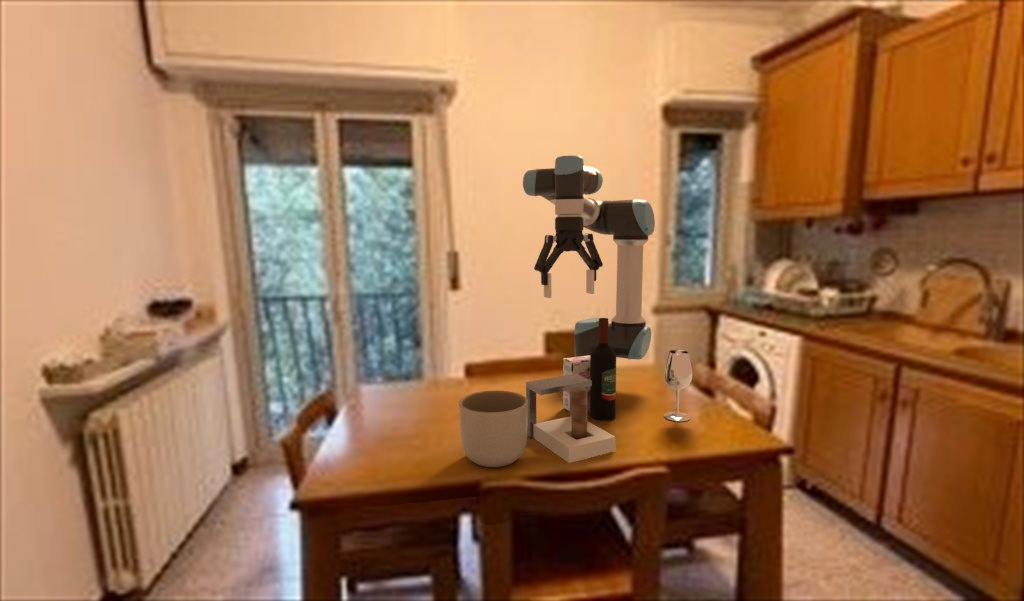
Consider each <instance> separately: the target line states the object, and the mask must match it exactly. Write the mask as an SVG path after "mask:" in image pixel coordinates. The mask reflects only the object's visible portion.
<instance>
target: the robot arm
mask: <svg viewBox="0 0 1024 601" xmlns="http://www.w3.org/2000/svg"><path fill="white" fill-rule="evenodd" d="M603 181H604V178H603V175H602V173H601V172H600V171H599V170H598V169H597V168H594V167H593V166H587V165H585V163H584V158H583V156H581V155H561V156H557V157H556V158H555V160H554V167H553V168H552V167H551V168H535V169H530V170H526V172H525V173H524V174H523V178H522V188H523V192H524V193H525V194H526V195H527V196H528V197H529V196H530V197H539V196H540V197H542V198H543V199H545V200H547V201H548V202H550V203H551V204H553V205H554V214H555V216H556V217H555V218H554V230H555V235H552V234H545V236H544V241H543V242H544V243H543V246H542V248H541V251H540V253H539V255H538V258H537V260H536V263H535V265H534V266H533V267H534V268H533V269H534V271H537V272H539V273H540V279H541V280H540V283H541V286H543V297H544V298H548V299H551V298H552V273H551V272H549V271H550V270H551V269H552V267H553V266H554V264H555V263H556V262H557V260H558V259H559V257H560V256H561V254H563V253H564V252H565V253H566V252H576V253H577V254H578V256H580V258H581V260H583V262H584V264H585V265H586V266H587V267H588V268H589V269H586V272H585V273H586V276H585V277H586V278H585V280H586V282H585V283H586V289H585V290H586V291H585V292H586V294H591V295H594V294H595V282H596V281H597V271H599V270H600V268H601V267H603V266H604V264H603V262H602V258H601V256H600V254H599V252H598V249H597V245H596V244H595V242H594V234H593V233H597V234H601V235H606V236H607V235H609V236H611V235H612V237H613V238H612V239H613V242H614V243H615V244H616V246H617V250H616V251H617V254H616V255H617V258H616V259H617V260H616V293H615V294H616V297H615V298H616V300H615V315H614V316H613V317H612V318H611V323H610V322H609V323H608V345H609V347H611V348H612V349H613V350H614V352H615V353H616V358H618V359H627V360H642V359H644V357H645V356H646V355H647V353H648V351H649V348H650V346H651V340H652V329H651V327H650V326H648V325H646V324H647V321H646V319H645V318H644V317H643V316H642V302H643V268H644V246H645V244H646V243H647V242H649V236H651V235H653V234H654V232H655V228H656V227H655V226H656V224H655V223H656V221H655V212H654V210H653V208H652V205H651V203H650V202H649V201H648V200H645V199H621V200H620V199H619V200H618V199H617V200H596V199H594V198H591V197H587V195H588V196H590V195H592V194H595V193H598V191H599V190H600V189H601V187H602V185H603ZM584 228H585V229H586V230H589V231H592V232H593V233H584V234H583V231H584ZM582 242H584V244H585V246H586V247H585V246H584V245H583V243H582ZM554 243H556V244H555V246H554V247H553V245H554ZM552 248H553V249H552ZM586 249H587V250H586ZM551 250H552V251H551ZM587 251H588V252H587ZM599 318H600V317H592V318H591V317H590V318H585V319H581V320H578V321H577V322H575V324H574V333H573V335H574V337H573V338H574V357H580V356H588V355H591V352H592V351H593V349H595V348H596V347H597V346H598V343H599Z"/></svg>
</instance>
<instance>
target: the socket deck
mask: <svg viewBox="0 0 1024 601" xmlns="http://www.w3.org/2000/svg"><path fill="white" fill-rule="evenodd" d="M532 439H534V440H536V441H537V442H539V443H540V444H541V445H543V447H545V448H547V449H549V450H550V451H551V452H552V453H554V454H556V455H557V457H560V458H561V459H562V460H563V461H565V462H567V464H571V463H574V462H579V461H584V460H588V459H590V458H591V457H592V458H594V457H595V456H596V457H599V456H598V455H600V456H602V454H604V455H606V454H605V453H608V454H610V453H609V452H612V453H614V452H613V451H615V452H616V436H615V435H613V434H611V433H609V432H607V431H606V430H604V429H603V428H601V427H598V426H596V425H595V424H593V423H591V422H589V421H588V420H587V437H586V438H582V439H578V440H576V439H574V438H572V416H570V415H569V416H565V417H561V418H555V419H551V420H546V421H541V422H537V423H536V424H533V438H532Z"/></svg>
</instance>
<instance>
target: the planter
mask: <svg viewBox="0 0 1024 601" xmlns="http://www.w3.org/2000/svg"><path fill="white" fill-rule="evenodd" d="M458 413H459V414H458V415H459V428H460V429H459V431H460V440H461V447H462V450H463V452H464V454H465V456H466V457H467V458H468V459H469V460H470V461H471V462H473V463H475V464H476V465H479V466H481V467H486V468H500V467H505V466H509V465H511V464H513V463H514V462H516V461H518V460H519V459H520V458H521V457H522V455H523V453H524V452H525V449H526V446H527V439H528V437H527V427H528V400H527V398H526V395H525V396H524V395H523V394H521V393H518V392H514V391H508V390H483V391H477V392H473V393H470V394H467V395H464V396H463V397H462V398H460V399H459V401H458Z"/></svg>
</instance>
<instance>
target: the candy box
mask: <svg viewBox="0 0 1024 601" xmlns="http://www.w3.org/2000/svg"><path fill="white" fill-rule="evenodd" d="M571 374H577V375H580V376H582V377H584V378H587V379H589V380H590V355H588V356H580V357H575V356H574V357H563V358H562V376H565V375H571ZM584 388H586V389H587V412H590V387H584ZM562 409H564V410H565V411H566V412H568V413H570V390H568V391H562Z"/></svg>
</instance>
